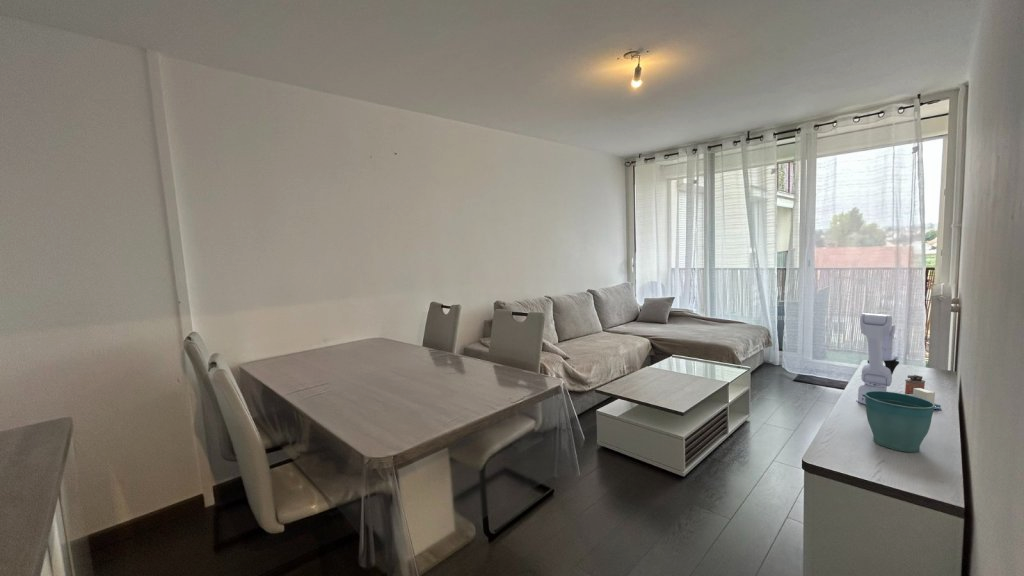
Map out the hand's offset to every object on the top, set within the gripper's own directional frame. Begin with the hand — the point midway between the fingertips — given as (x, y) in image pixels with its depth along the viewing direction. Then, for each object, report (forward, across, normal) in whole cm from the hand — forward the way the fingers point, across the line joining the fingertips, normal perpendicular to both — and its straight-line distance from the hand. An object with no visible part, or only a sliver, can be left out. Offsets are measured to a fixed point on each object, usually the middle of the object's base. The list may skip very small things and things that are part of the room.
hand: (882, 375), depth 193 cm
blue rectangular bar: (+10, +5, -18) cm, 21 cm away
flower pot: (+10, -49, -43) cm, 66 cm away
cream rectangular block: (+10, +6, -13) cm, 18 cm away
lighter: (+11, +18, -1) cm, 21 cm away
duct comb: (+10, +3, -11) cm, 16 cm away
